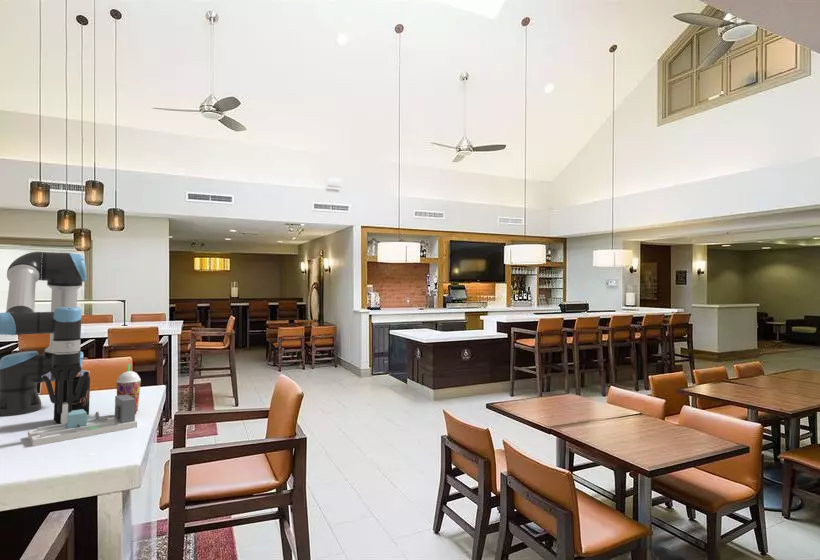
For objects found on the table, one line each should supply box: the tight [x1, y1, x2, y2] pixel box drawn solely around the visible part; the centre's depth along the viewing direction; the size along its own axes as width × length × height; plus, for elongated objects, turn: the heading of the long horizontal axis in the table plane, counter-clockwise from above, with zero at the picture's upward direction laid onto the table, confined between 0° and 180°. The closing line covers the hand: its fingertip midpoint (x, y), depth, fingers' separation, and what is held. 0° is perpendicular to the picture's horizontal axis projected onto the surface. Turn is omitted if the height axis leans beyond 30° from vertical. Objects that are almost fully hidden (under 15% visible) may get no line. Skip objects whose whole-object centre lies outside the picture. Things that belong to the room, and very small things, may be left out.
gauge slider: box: [65, 409, 100, 429], centre depth 155 cm, size 9×9×5 cm
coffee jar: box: [53, 369, 91, 424], centre depth 170 cm, size 11×11×18 cm
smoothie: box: [115, 363, 142, 415], centre depth 178 cm, size 8×8×20 cm
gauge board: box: [27, 394, 138, 447], centre depth 156 cm, size 12×29×10 cm, turn 136°
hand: (64, 422), depth 152 cm, fingers closed
